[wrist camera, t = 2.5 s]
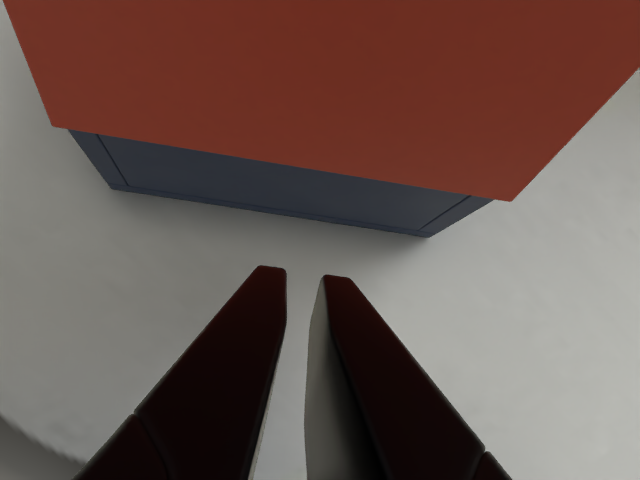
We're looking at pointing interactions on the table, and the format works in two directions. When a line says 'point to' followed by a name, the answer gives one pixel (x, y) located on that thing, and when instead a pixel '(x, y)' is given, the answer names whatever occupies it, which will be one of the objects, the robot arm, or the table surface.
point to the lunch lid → (338, 80)
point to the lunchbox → (273, 187)
